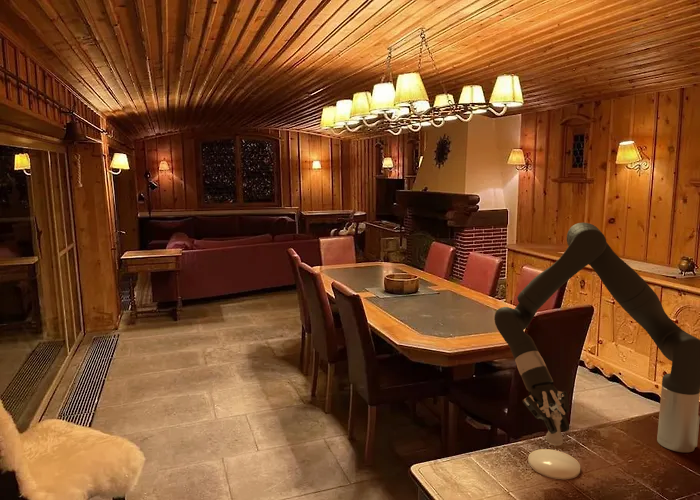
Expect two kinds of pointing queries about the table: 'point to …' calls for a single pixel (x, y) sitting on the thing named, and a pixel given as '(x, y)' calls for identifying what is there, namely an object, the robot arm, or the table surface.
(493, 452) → the table surface
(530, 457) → the cream plate
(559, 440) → the rook chess piece
